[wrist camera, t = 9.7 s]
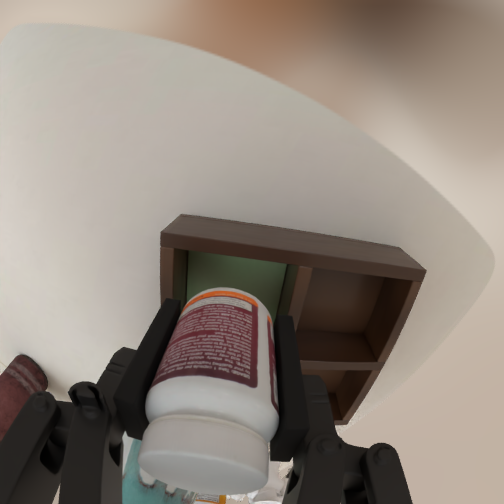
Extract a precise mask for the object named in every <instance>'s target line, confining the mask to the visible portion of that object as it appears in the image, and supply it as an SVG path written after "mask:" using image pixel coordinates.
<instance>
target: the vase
mask: <svg viewBox="0 0 504 504" xmlns="http://www.w3.org/2000/svg"><path fill="white" fill-rule="evenodd" d="M122 439H123V444H124V451H123V476H122V504H194V503H195V501H196V499H197V496H198V494H199V493H197V492H192V491H188V490H184V489H180V488H177V487H174V486H171V485H169V484H166V483H164V482H161V481H159V480H157V479H155V478H154V477H152V476H151V475H149V474H148V473H146V472H145V471H144V470H143V469H142V468H141V467H140V465H139V464H138V460H137V459H138V454H139V450H140V446H141V443H142V441H141V440H137V439H134V438H131V437H128V436H127V434H126V431H125V432H124V435H123V437H122Z"/></svg>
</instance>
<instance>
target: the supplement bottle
mask: <svg viewBox="0 0 504 504" xmlns="http://www.w3.org/2000/svg"><path fill="white" fill-rule="evenodd" d="M225 503H226V495H212V494H203V493H199V494H198V496H197V499H196V501H195V503H194V504H225Z"/></svg>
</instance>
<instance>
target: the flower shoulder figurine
mask: <svg viewBox="0 0 504 504" xmlns="http://www.w3.org/2000/svg"><path fill="white" fill-rule="evenodd" d="M268 446H269V449H270V442H268ZM279 466H280V462H276V461H270V451H269V475H268V482H267V484H266V485H265V486H264V487H263V488H261V489H259V490H257V491H254V492H251V493H246V494H238V495H226V497H227V498H228V499H229V496H230V497H231V498H233V499H234V500H240V501H242V499H241V498H243V497H245V495H246V496H248V497H249V501H248V503H249V504H282V501H283V497H284V494H285V490H286V486H287V482H288V478H286V476H287V475H285V476H284V477H283V479H281V477H280V474H279ZM290 470H291V468H290V469H288V472H289V471H290ZM237 502H238V501H237Z"/></svg>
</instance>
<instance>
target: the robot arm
mask: <svg viewBox="0 0 504 504" xmlns="http://www.w3.org/2000/svg"><path fill="white" fill-rule="evenodd" d="M180 315H181V300H176V299H171V298H166V299H165V301H164V302H163V304H162V306H161V308H160V309H159V311H158V313H157V315H156V316H155V318H154V320H153V322H152V324H151V325H150V327H149V329H148V331H147V333H146V334H145V336H144V338H143V340H142V342H141V344H140V345H139V347H138V349H137V350H133V349H130V348H126V347H123V348H121V349H120V350H118V351H117V352H116V353H115V354H114V355H113V357H112V358H111V360H110V363H108V365H107V367H106V370H104V372H103V374H102V375H101V377H100V379H99V380H98V382H97V384H95V383H92V382H79V383H76V384H74V385H73V386H72V387H71V388H70V389H69V391H68V394H69V396H70V398H71V400H72V402H63V401H56V400H55V398H54V396H53V395H52V394H50V393H49V392H46V391H37V392H35V393H33V394H32V395H31V396H30V397H29V398H28V400H27V401H26V403H25V404H24V406H23V407H22V409H21V410H20V412H19V413H18V415H17V416H16V418H15V419H14V421H13V423H12V424H11V426H10V427H9V429H8V431H7V432H6V434H5V436H4V437H3V439H2V441H1V442H0V504H52V502H53V500H54V497H55V495H56V492H57V490H58V487H59V485H60V494H59V504H122V476H123V451H124V444H123V439H122V437H123V435H124V432H125V431H126V434H127V436H128V437H131V438H134V439H137V440H141V441H142V440H143V434H144V432H145V430H146V429H147V427H148V425H149V424H150V423H149V421H148V419H147V416H146V412H145V402H146V396H147V393H148V390H149V388H150V387H151V385H152V382H153V379H154V377H155V375H156V372H157V369H158V367H159V364H160V362H161V360H162V357H163V355H164V353H165V350H166V348H167V345H168V343H169V341H170V338H171V336H172V333H173V331H174V329H175V326H176V324H177V321H178V319H179V317H180ZM274 342H275V357H276V372H277V389H278V405H279V416H280V421H279V426H278V429H277V431H276V434H275V435H274V437H273V438H272V439H271V440H270V461H276V462H290V460H291V459H292V457H293V467H292V468H291V470H290V471H289V472H288V474H287V476H286V478H288V482H287V486H286V490H285V494H284V497H283V501H282V504H340V502H341V504H413V503H412V500H411V496H410V492H409V489H408V485H407V482H406V479H405V475H404V472H403V469H402V466H401V463H400V459H399V456H398V453H397V452H396V450H395V448H393V447H392V446H391V445H389V444H386V443H377V444H374V445H372V446H371V447H370V448H363V447H357V446H353V445H349V444H347V443H345V442H344V441H343V440H342V438H340V437H339V436H338V435H337V432H336V429H335V424H334V419H333V415H332V410H331V406H330V403H329V397H328V392H327V388H326V384H325V383H324V381H323V380H322V379H321V377H320V376H319V375H302V370H301V364H300V358H299V352H298V345H297V339H296V333H295V328H294V322H293V316H289V315H280V314H277V318H276V323H275V327H274Z"/></svg>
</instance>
